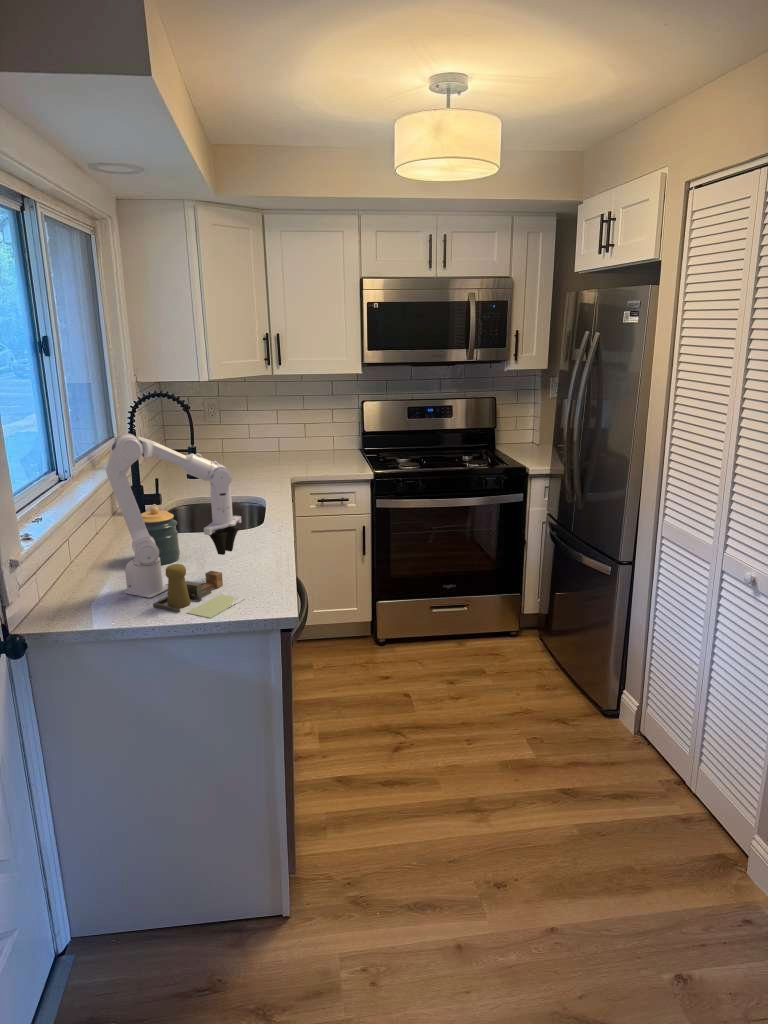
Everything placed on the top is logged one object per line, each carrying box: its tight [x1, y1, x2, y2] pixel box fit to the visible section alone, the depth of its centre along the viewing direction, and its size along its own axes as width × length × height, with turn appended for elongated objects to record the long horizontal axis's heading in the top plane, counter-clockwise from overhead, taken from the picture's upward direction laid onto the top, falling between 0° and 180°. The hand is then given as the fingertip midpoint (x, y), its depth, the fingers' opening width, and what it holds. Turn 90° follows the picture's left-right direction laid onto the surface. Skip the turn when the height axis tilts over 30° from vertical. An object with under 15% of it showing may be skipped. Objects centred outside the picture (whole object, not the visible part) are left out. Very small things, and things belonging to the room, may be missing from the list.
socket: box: [152, 580, 212, 614], centre depth 183 cm, size 8×15×4 cm, turn 155°
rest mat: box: [186, 594, 239, 619], centre depth 179 cm, size 8×14×1 cm, turn 155°
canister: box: [141, 505, 181, 566], centre depth 215 cm, size 13×13×18 cm
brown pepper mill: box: [165, 563, 191, 609], centre depth 179 cm, size 6×6×11 cm
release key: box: [202, 570, 224, 591], centre depth 191 cm, size 4×8×4 cm, turn 155°
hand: (225, 552), depth 196 cm, fingers open, 3 cm apart
